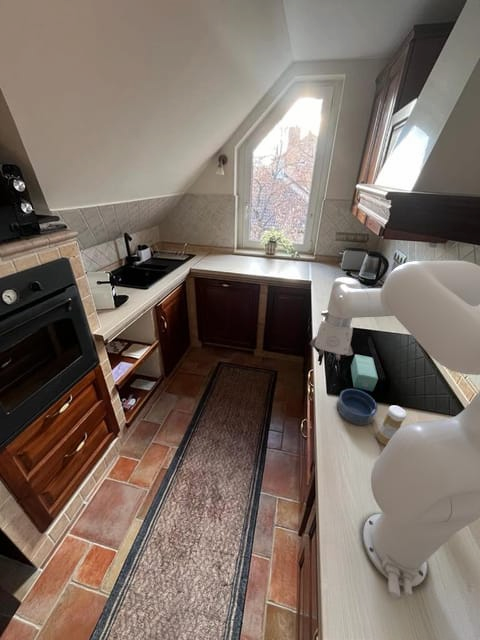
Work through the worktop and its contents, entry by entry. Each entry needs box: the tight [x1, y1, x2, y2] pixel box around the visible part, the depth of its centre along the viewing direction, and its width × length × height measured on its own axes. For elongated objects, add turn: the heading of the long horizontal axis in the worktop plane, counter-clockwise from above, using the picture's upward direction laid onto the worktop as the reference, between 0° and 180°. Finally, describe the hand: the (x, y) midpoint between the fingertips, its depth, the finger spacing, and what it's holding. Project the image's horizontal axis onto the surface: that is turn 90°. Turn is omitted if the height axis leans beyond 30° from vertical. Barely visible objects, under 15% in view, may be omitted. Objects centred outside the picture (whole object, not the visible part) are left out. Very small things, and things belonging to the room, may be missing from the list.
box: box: [350, 354, 379, 392], centre depth 104 cm, size 7×14×8 cm, turn 164°
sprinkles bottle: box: [376, 405, 407, 446], centre depth 78 cm, size 5×5×14 cm
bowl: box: [336, 388, 378, 426], centre depth 90 cm, size 12×12×5 cm
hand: (326, 364), depth 87 cm, fingers open, 3 cm apart
